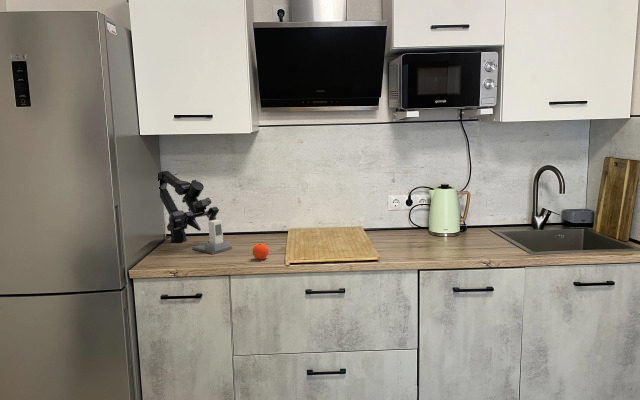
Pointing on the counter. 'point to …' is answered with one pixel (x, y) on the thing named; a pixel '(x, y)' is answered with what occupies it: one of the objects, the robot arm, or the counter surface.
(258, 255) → the clementine
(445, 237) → the counter surface
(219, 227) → the white handset
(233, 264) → the counter surface
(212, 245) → the dock
